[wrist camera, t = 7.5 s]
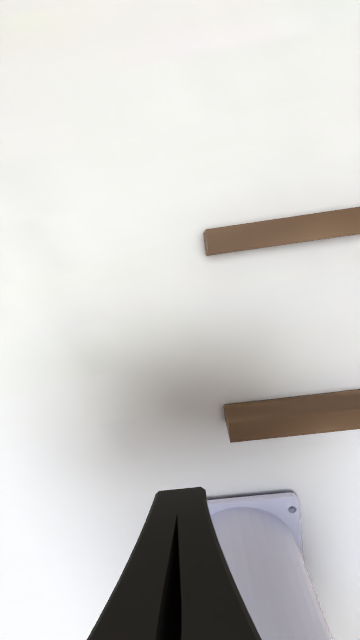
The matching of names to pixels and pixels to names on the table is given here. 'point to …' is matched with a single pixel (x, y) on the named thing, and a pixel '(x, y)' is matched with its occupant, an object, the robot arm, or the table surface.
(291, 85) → the table surface
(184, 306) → the table surface
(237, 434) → the bay
